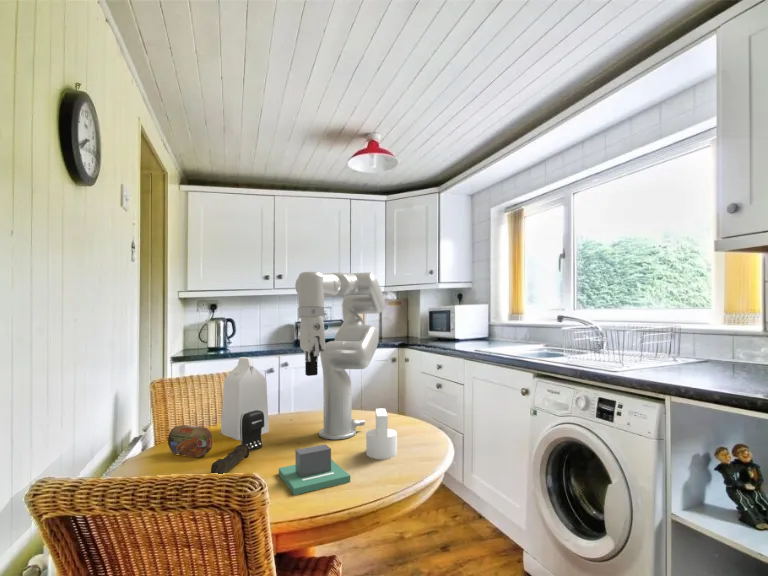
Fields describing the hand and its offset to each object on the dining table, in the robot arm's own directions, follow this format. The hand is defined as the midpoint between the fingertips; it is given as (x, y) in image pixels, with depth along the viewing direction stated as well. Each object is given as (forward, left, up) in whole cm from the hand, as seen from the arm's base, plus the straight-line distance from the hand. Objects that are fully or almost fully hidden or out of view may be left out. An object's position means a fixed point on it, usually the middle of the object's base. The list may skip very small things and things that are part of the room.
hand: (311, 375), depth 118 cm
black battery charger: (+14, -14, -23) cm, 31 cm away
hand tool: (+22, -1, -24) cm, 33 cm away
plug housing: (+5, +16, -22) cm, 27 cm away
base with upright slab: (-18, +10, -23) cm, 31 cm away
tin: (+31, -19, -23) cm, 43 cm away
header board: (+5, +16, -23) cm, 29 cm away
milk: (+13, -33, -23) cm, 42 cm away
